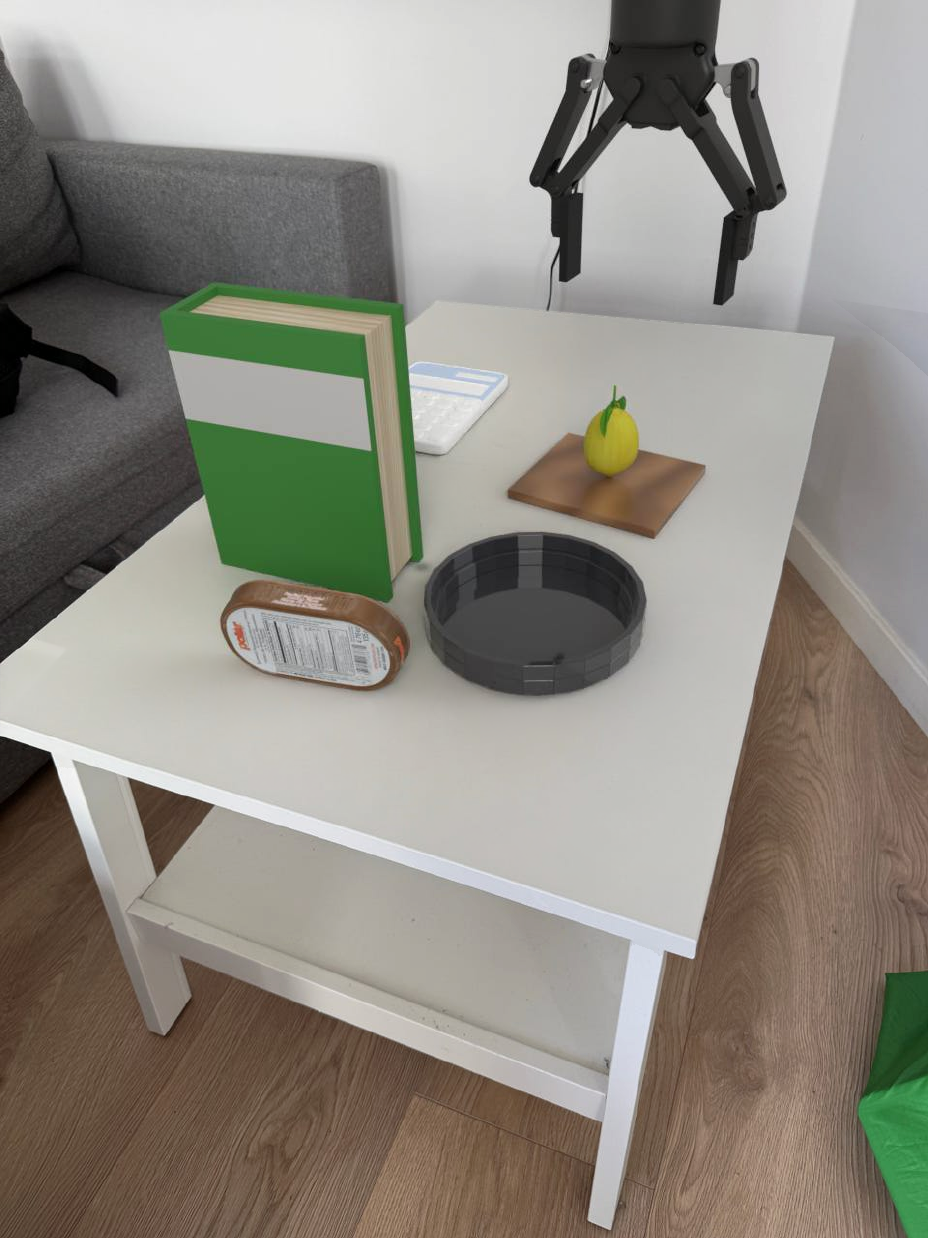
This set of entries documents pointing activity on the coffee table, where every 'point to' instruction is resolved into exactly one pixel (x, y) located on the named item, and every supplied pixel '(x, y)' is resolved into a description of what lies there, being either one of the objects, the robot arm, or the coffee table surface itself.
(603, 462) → the lemon
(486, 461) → the coffee table surface
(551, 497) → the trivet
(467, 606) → the pan
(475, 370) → the calculator
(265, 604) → the tin
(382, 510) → the hardback book
